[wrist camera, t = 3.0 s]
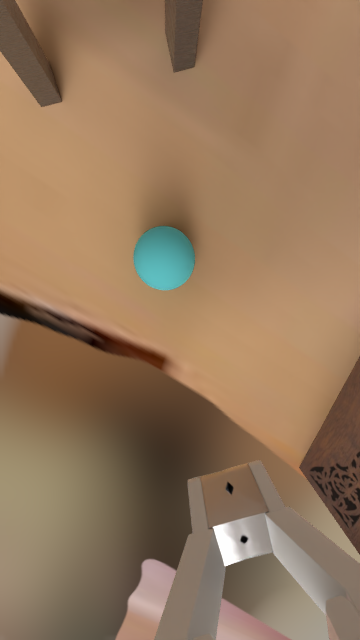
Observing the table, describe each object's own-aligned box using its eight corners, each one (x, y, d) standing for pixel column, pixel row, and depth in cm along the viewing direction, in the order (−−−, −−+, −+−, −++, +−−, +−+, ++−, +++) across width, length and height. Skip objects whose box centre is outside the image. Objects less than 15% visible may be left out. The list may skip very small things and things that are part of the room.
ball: (183, 227, 21) (190, 208, 15) (196, 281, 22) (206, 282, 17) (131, 241, 21) (117, 228, 15) (147, 294, 22) (140, 300, 17)
